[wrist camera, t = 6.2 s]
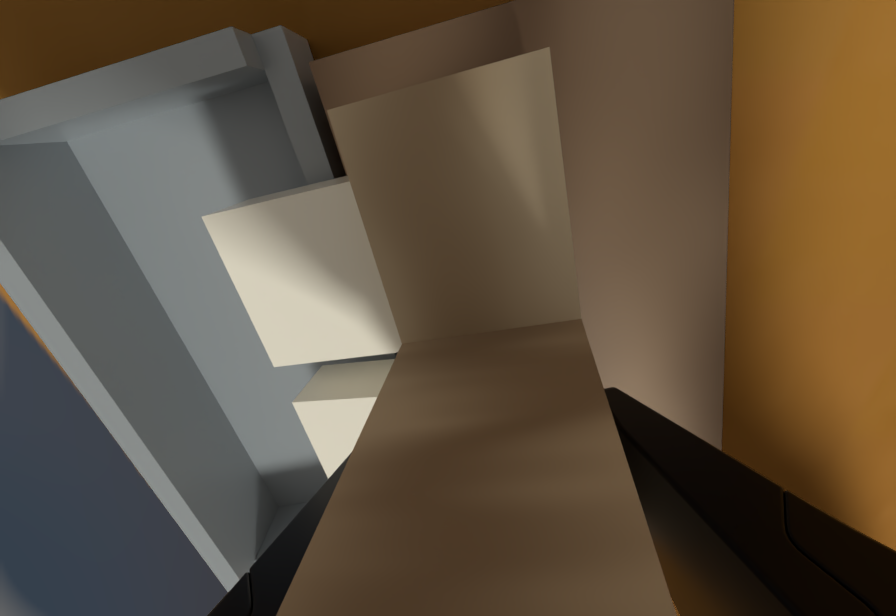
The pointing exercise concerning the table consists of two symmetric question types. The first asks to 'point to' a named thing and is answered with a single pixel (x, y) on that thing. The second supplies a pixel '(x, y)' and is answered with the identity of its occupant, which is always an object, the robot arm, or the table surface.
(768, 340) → the table surface
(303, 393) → the cream tile
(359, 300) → the cream tile
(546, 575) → the beige l-shaped block
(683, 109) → the tan flat block
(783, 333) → the table surface
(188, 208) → the grey tray
